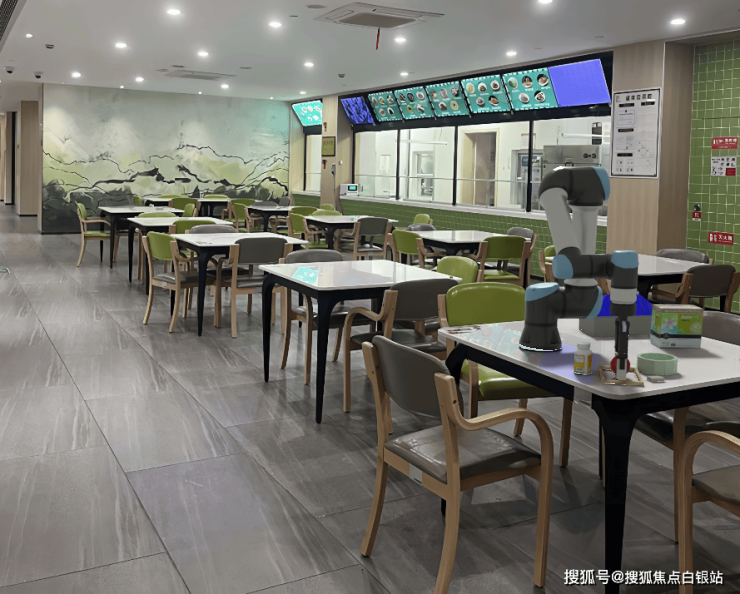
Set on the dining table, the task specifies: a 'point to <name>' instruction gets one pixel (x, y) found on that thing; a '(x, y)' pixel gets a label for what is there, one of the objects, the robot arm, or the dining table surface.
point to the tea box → (676, 326)
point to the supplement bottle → (583, 358)
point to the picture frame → (639, 382)
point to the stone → (655, 378)
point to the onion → (614, 365)
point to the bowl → (657, 363)
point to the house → (606, 321)
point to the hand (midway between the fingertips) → (619, 376)
